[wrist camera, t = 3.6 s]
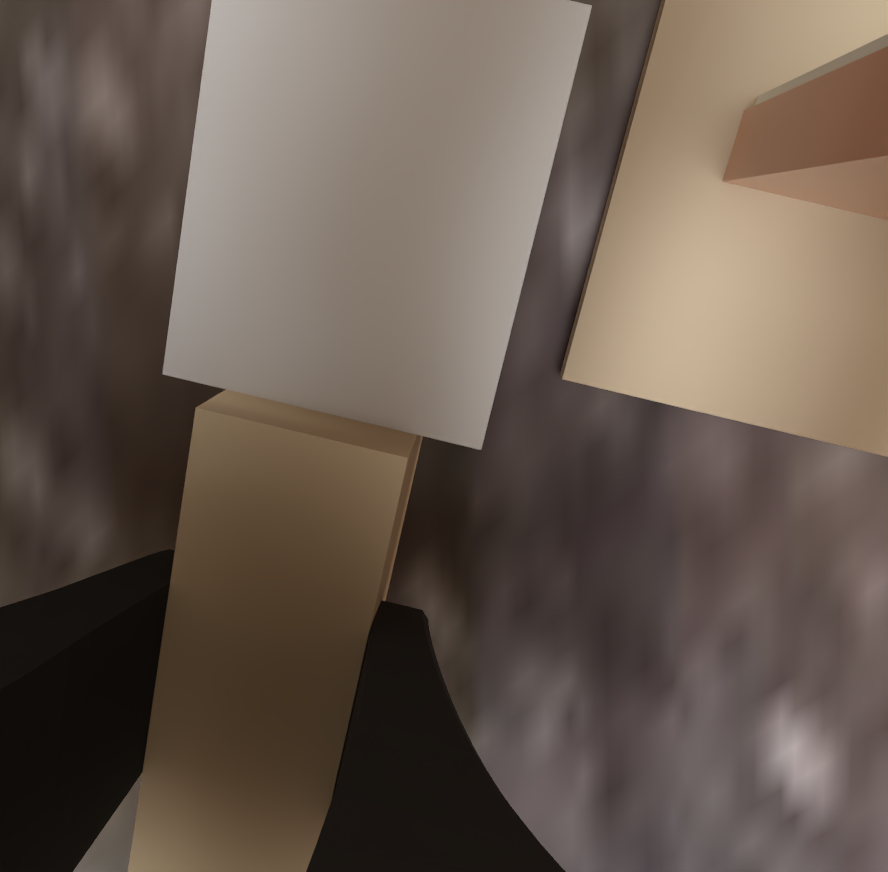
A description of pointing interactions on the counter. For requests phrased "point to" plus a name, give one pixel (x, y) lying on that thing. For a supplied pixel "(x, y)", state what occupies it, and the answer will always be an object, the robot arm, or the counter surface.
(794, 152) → the tile
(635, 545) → the counter surface
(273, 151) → the turner
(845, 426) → the cork mat
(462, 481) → the counter surface
